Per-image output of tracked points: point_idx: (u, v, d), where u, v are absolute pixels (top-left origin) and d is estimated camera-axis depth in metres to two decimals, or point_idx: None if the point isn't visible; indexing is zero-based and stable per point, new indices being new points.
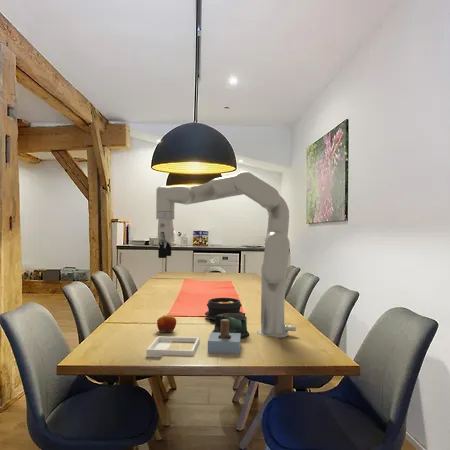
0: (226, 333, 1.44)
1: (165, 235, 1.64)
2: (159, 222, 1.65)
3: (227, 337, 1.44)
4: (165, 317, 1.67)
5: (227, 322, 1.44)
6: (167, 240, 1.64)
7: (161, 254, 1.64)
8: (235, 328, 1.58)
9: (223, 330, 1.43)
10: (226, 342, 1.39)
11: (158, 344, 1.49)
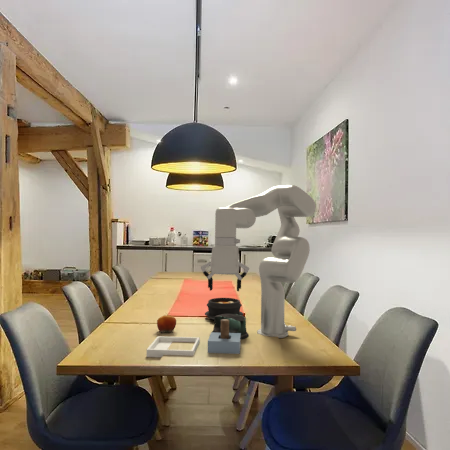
0: (226, 333, 1.44)
1: None
2: (237, 250, 1.43)
3: (227, 337, 1.44)
4: (165, 317, 1.67)
5: (227, 322, 1.44)
6: None
7: (240, 286, 1.44)
8: (234, 329, 1.57)
9: (223, 330, 1.43)
10: (226, 342, 1.39)
11: (158, 344, 1.49)
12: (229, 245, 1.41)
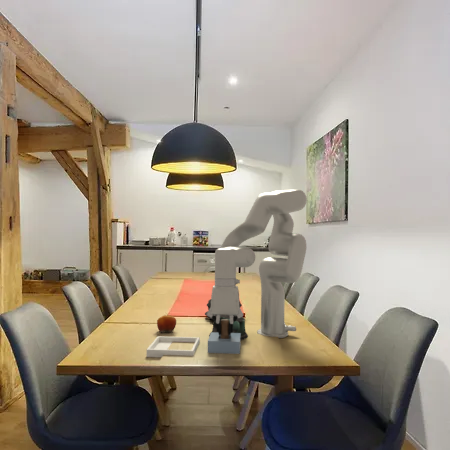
0: (226, 333, 1.44)
1: None
2: (237, 291, 1.43)
3: (227, 337, 1.44)
4: (165, 317, 1.67)
5: (227, 322, 1.44)
6: None
7: (232, 330, 1.45)
8: (233, 330, 1.56)
9: (223, 330, 1.43)
10: (226, 342, 1.39)
11: (158, 344, 1.49)
12: (229, 286, 1.41)
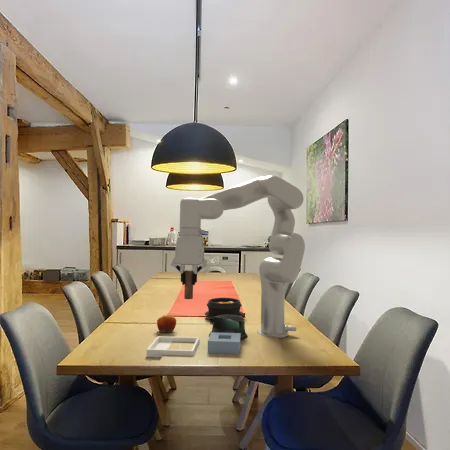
0: (190, 283, 1.43)
1: (203, 255, 1.46)
2: (201, 241, 1.43)
3: (191, 287, 1.44)
4: (165, 317, 1.67)
5: (191, 272, 1.44)
6: None
7: (196, 280, 1.44)
8: (233, 330, 1.55)
9: (187, 279, 1.43)
10: (226, 342, 1.39)
11: (158, 344, 1.49)
12: (193, 235, 1.41)
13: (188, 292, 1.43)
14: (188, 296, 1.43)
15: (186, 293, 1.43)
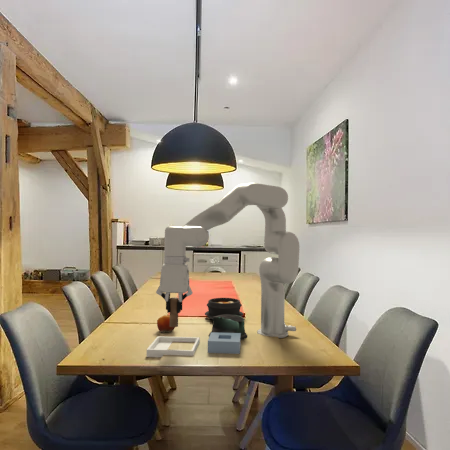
0: (175, 311, 1.44)
1: None
2: (186, 269, 1.43)
3: (176, 315, 1.44)
4: (165, 317, 1.67)
5: (176, 300, 1.44)
6: None
7: (181, 308, 1.45)
8: (232, 330, 1.55)
9: (172, 307, 1.44)
10: (226, 342, 1.39)
11: (158, 344, 1.49)
12: (177, 264, 1.42)
13: (173, 320, 1.44)
14: (173, 324, 1.44)
15: (171, 321, 1.44)
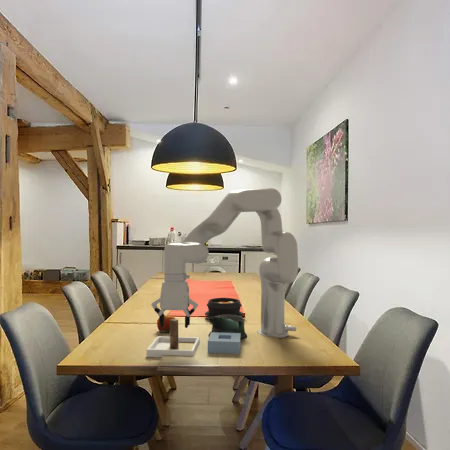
0: (175, 333, 1.44)
1: None
2: (186, 286, 1.43)
3: (176, 337, 1.44)
4: (165, 317, 1.67)
5: (176, 322, 1.44)
6: (189, 304, 1.47)
7: (189, 323, 1.45)
8: (232, 330, 1.55)
9: (172, 330, 1.44)
10: (226, 342, 1.39)
11: (158, 344, 1.49)
12: (177, 282, 1.42)
13: (173, 342, 1.44)
14: (173, 346, 1.44)
15: (171, 343, 1.44)
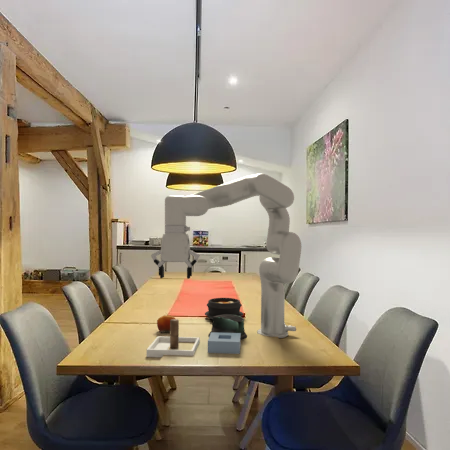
0: (175, 333, 1.44)
1: None
2: (186, 238, 1.43)
3: (176, 337, 1.44)
4: (165, 317, 1.67)
5: (176, 322, 1.44)
6: (189, 257, 1.47)
7: (191, 274, 1.45)
8: (232, 330, 1.55)
9: (172, 330, 1.44)
10: (226, 342, 1.39)
11: (158, 344, 1.49)
12: (178, 233, 1.42)
13: (173, 342, 1.44)
14: (173, 346, 1.44)
15: (171, 343, 1.44)
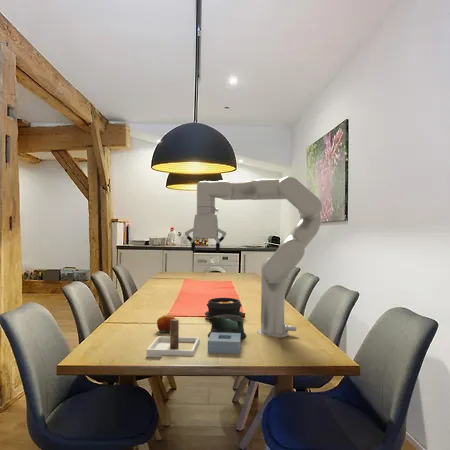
0: (175, 333, 1.44)
1: None
2: (215, 217, 1.66)
3: (176, 337, 1.44)
4: (165, 317, 1.67)
5: (176, 322, 1.44)
6: (217, 235, 1.70)
7: (219, 249, 1.68)
8: (231, 330, 1.55)
9: (172, 330, 1.44)
10: (226, 342, 1.39)
11: (158, 344, 1.49)
12: (208, 213, 1.65)
13: (173, 342, 1.44)
14: (173, 346, 1.44)
15: (171, 343, 1.44)
